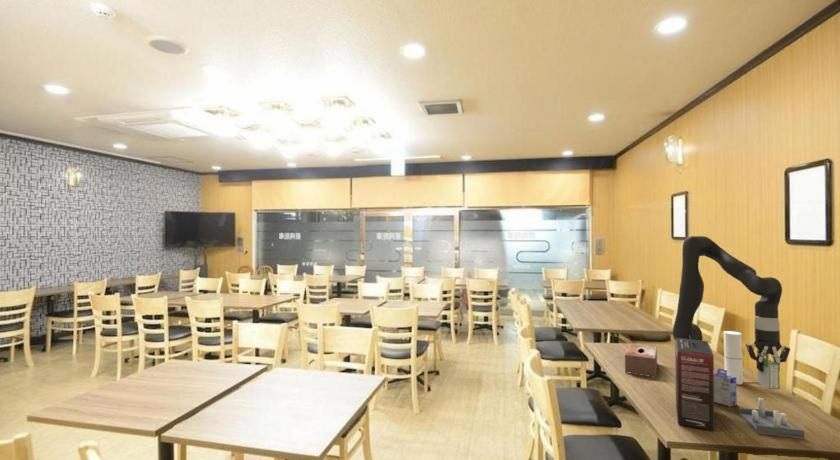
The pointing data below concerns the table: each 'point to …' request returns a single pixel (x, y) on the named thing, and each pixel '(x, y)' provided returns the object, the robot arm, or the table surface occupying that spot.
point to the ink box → (769, 374)
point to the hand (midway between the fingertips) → (768, 371)
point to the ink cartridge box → (725, 388)
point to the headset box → (694, 383)
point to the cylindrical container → (733, 355)
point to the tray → (769, 421)
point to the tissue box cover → (641, 359)
